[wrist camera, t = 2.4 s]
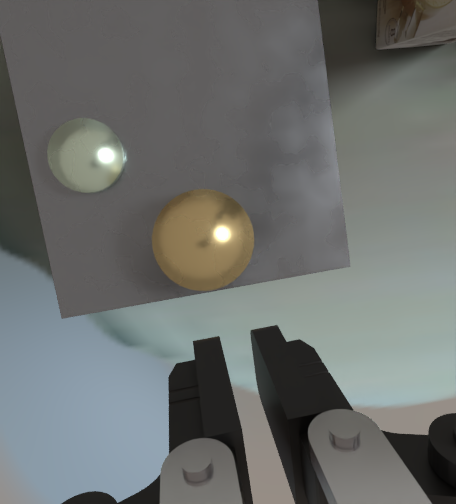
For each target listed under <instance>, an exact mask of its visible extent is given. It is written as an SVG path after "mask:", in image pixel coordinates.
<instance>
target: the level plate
mask: <svg viewBox="0 0 456 504" xmlns="http://www.w3.org/2000/svg"><path fill="white" fill-rule="evenodd" d="M0 36H1V40H2V45H3V49H4V54H5V59H6V63H7V68H8V72H9V77H10V82H11V86H12V91H13V96H14V100H15V105H16V109H17V114H18V119H19V123H20V128H21V133H22V137H23V142H24V146H25V151H26V156H27V160H28V165H29V170H30V174H31V179H32V183H33V188H34V193H35V197H36V202H37V206H38V211H39V216H40V220H41V225H42V230H43V234H44V239H45V243H46V248H47V253H48V257H49V262H50V267H51V271H52V276H53V280H54V285H55V290H56V294H57V299H58V304H59V308H60V313H61V317H62V318H68V317H73V316H79V315H85V314H90V313H96V312H101V311H107V310H112V309H118V308H123V307H129V306H134V305H140V304H145V303H151V302H157V301H162V300H168V299H173V298H179V297H184V296H190V295H195V294H201V293H206V292H212V291H217V290H223V289H228V288H234V287H240V286H245V285H251V284H256V283H262V282H267V281H273V280H278V279H284V278H289V277H295V276H300V275H306V274H311V273H317V272H323V271H328V270H334V269H339V268H345V267H350V259H349V251H348V243H347V234H346V226H345V218H344V210H343V202H342V194H341V186H340V178H339V169H338V161H337V153H336V145H335V137H334V129H333V121H332V113H331V104H330V96H329V88H328V80H327V72H326V64H325V56H324V47H323V39H322V31H321V23H320V15H319V7H318V0H0Z"/></svg>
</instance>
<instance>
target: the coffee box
mask: <svg viewBox="0 0 456 504" xmlns="http://www.w3.org/2000/svg"><path fill="white" fill-rule="evenodd" d="M452 42H456V0H378V7H377V31H376V49H379V50H381V49H393V48H405V47H417V46H428V45H439V44H447V43H452Z"/></svg>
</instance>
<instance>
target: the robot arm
mask: <svg viewBox="0 0 456 504" xmlns="http://www.w3.org/2000/svg"><path fill="white" fill-rule="evenodd" d="M251 342H252V350H253V358H254V365H255V373H256V380H257V386H258V391H259V395H260V399H261V402H262V405H263V408H264V411H265V414H266V417H267V420H268V423H269V426H270V429H271V432H272V435H273V438H274V441H275V444H276V447H277V450H278V453H279V456H280V459H281V462H282V465H283V468H284V471H285V474H286V477H287V480H288V483H289V486H290V489H291V492H292V495H293V498H294V501H295V504H456V413H452V414H446V415H443V416H440V417H438V418H437V419H435V420H434V421H433V422H432V423H431V425H430V427H429V434H428V435H414V434H397V433H390V432H385V431H382V430H380V428H379V427H378V425H377V424H376V423H375V422H374V421H373V420H372V419H370V418H369V417H367V416H366V415H363V414H362V413H359V412H356V411H354V410H353V409H352V407H351V406H350V404H349V402H348V401H347V399H346V398H345V396H344V395H343V393H342V392H341V390H340V388H339V387H338V385H337V384H336V382H335V381H334V379H333V377H332V376H331V374H330V373H328V370H327V368H326V366H325V365H324V363H322V361H321V359H320V357H319V356H318V354H317V352H316V351H315V349H314V348H313V347H311V346H310V345H308V344H306V343H305V342H303V341H302V340H300V339H299V340H294V341H289V342H286V340H285V339H284V337H283V335H282V333H281V331H280V329H279V327H278V326H277V325H275V326H270V327H265V328H259V329H254V330H251ZM193 345H194V354H195V360H192V361H187V362H182V363H177V364H176V365H175V367H174V369H173V371H172V372H171V374H170V375H169V455H168V456H167V458H166V459H165V461H164V463H163V465H162V468H161V474H160V475H159V476H158V478H157V479H156V480H155V481H154V482H153V483H151V484H150V485H149V486H148V487H146V488H145V489H143V490H141V491H140V492H138V493H136V494H134V495H133V496H130V497H128V498H127V499H125V500H123V501H121V502H119V503H117V502H116V500H115V499H114V498H113V497H112V496H110V495H109V494H107V493H103V492H96V491H94V492H86V493H82V494H79V495H77V496H74V497H72V498H70V499H68V500H66V501H65V502H63V503H62V504H253V501H252V494H251V488H250V480H249V474H248V467H247V461H246V454H245V447H244V441H243V434H242V428H241V424H240V420H239V416H238V412H237V408H236V403H235V399H234V395H233V391H232V387H231V383H230V379H229V374H228V370H227V366H226V362H225V358H224V354H223V350H222V345H221V341H220V337H219V336H218V337H212V338H207V339H202V340H197V341H193Z"/></svg>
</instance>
